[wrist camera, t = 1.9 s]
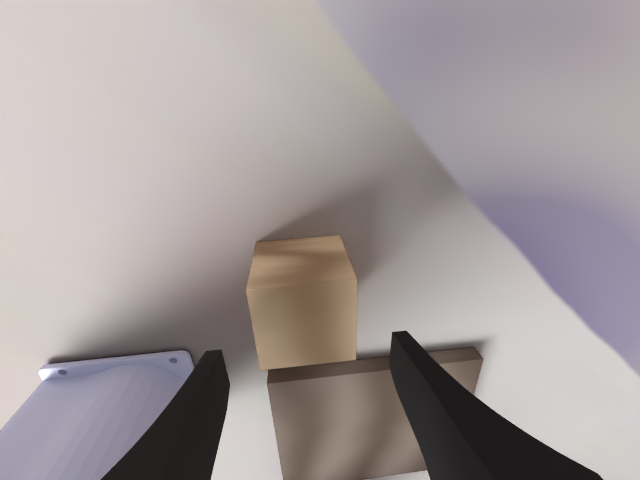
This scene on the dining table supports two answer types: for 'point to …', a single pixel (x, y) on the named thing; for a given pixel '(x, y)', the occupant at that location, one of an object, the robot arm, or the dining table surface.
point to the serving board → (351, 417)
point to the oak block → (302, 302)
